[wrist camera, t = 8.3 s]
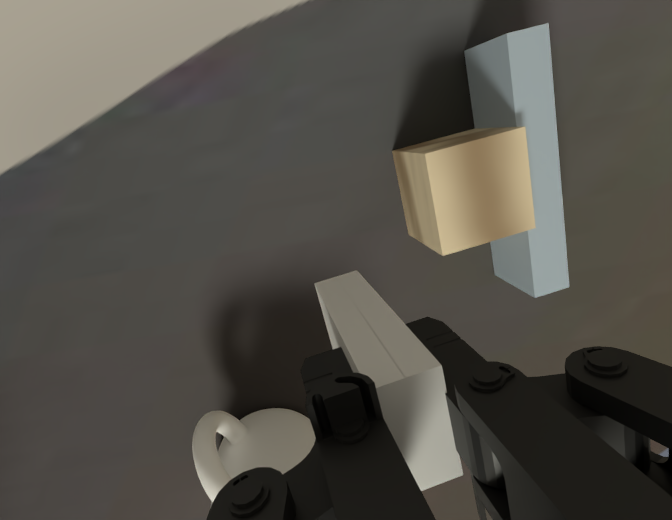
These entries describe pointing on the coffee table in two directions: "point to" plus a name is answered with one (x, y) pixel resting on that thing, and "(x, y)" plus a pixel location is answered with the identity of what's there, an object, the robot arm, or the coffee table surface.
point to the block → (466, 188)
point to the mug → (249, 444)
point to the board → (542, 142)
